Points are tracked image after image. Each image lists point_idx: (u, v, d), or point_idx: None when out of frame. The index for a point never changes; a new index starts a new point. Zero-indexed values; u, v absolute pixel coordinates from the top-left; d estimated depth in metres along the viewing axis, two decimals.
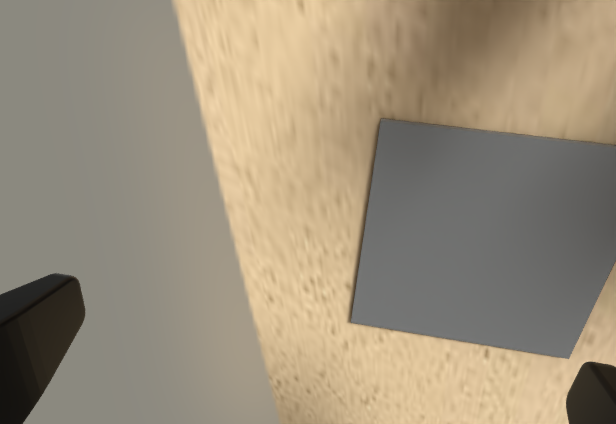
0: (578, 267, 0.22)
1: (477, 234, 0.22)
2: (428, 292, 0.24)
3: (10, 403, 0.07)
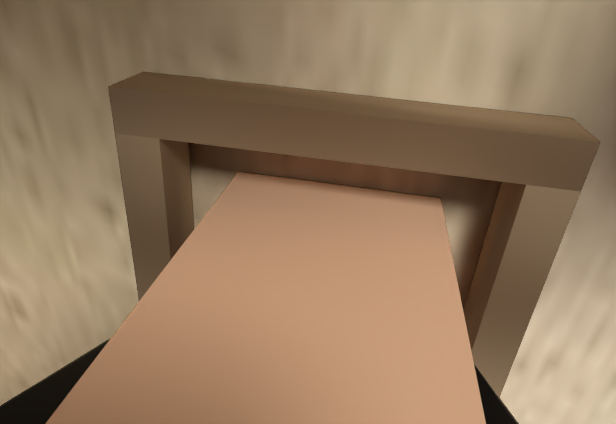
0: None
1: None
2: None
3: None
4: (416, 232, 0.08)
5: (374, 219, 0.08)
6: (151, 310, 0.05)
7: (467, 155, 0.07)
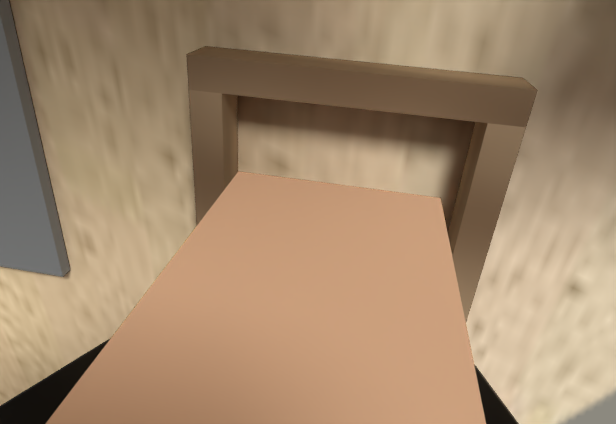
0: None
1: None
2: None
3: None
4: (416, 232, 0.08)
5: (374, 218, 0.08)
6: (151, 310, 0.05)
7: (445, 101, 0.10)
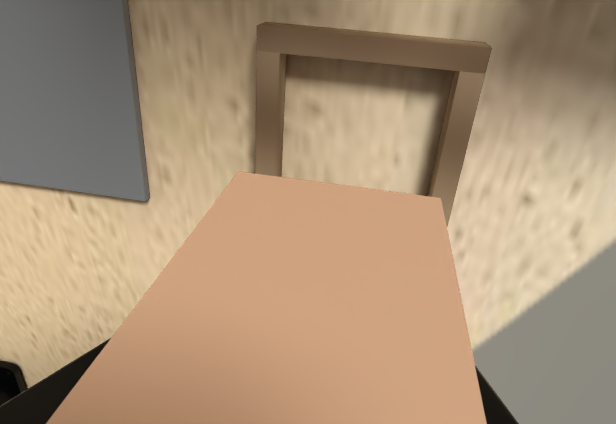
0: (93, 61, 0.18)
1: None
2: None
3: None
4: (416, 232, 0.08)
5: (375, 219, 0.08)
6: (151, 310, 0.05)
7: (431, 56, 0.15)
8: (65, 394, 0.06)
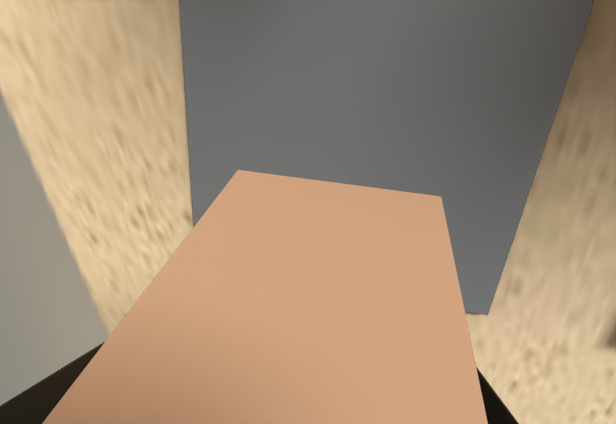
0: (487, 174, 0.15)
1: (340, 127, 0.15)
2: None
3: None
4: (416, 230, 0.07)
5: (374, 217, 0.08)
6: (150, 308, 0.05)
7: None
8: None
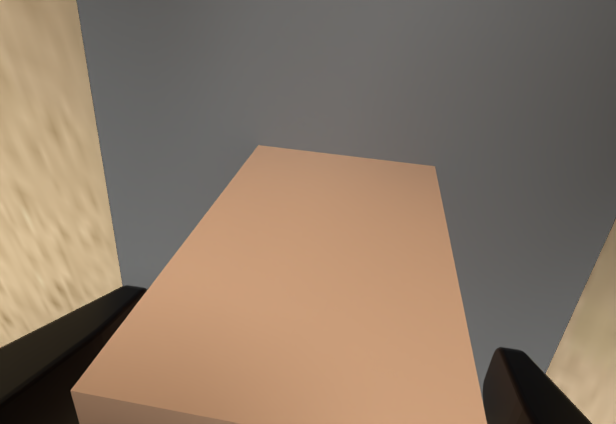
0: (525, 263, 0.11)
1: None
2: None
3: None
4: (413, 191, 0.09)
5: (377, 181, 0.09)
6: (199, 243, 0.07)
7: None
8: None
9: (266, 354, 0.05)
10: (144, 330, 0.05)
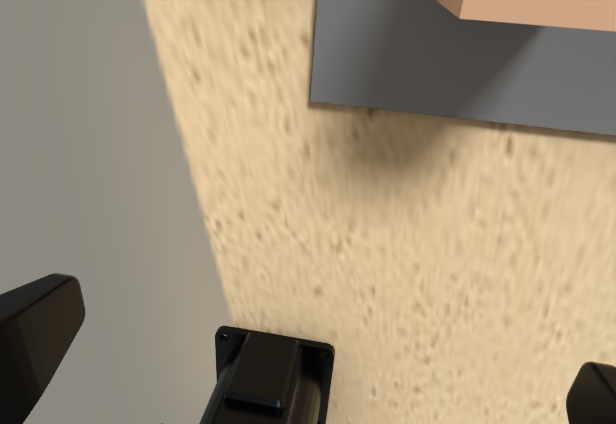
0: None
1: None
2: (423, 29, 0.16)
3: (10, 403, 0.07)
4: None
5: None
6: None
7: None
8: None
9: None
10: None
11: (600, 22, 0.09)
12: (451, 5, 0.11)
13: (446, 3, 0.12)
